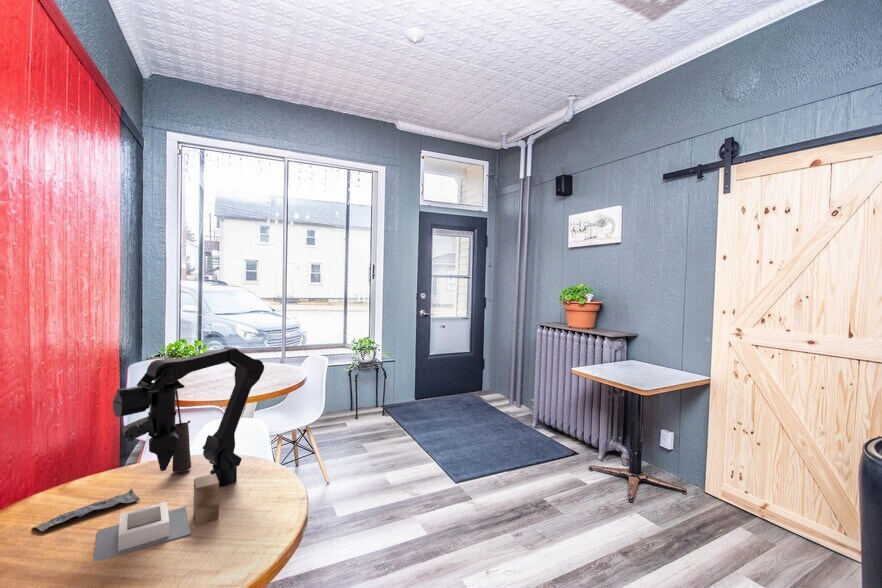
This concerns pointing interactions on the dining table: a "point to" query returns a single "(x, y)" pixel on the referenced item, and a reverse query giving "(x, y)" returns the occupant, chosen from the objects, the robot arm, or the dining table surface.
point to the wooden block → (206, 499)
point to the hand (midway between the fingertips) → (162, 464)
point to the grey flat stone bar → (90, 509)
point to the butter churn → (181, 445)
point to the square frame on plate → (141, 530)
